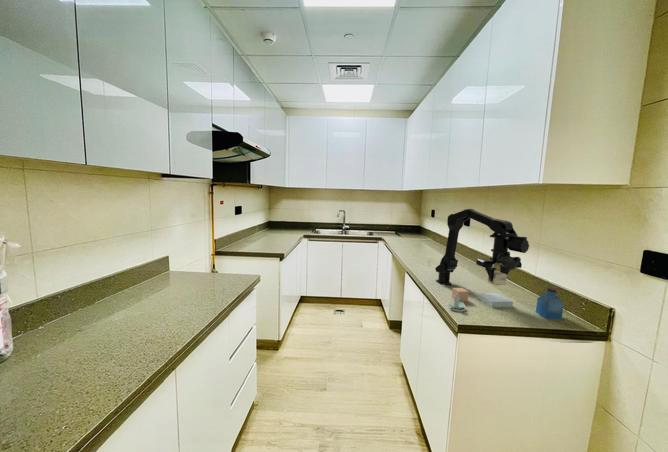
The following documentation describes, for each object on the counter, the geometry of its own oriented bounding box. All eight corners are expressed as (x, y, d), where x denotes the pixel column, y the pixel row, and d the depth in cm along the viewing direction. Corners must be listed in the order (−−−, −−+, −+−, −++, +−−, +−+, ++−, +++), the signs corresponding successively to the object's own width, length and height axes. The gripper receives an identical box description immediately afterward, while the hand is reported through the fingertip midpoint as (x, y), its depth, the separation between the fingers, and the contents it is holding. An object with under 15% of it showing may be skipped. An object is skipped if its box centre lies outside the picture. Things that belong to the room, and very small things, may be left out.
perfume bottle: (550, 313, 115) (554, 286, 114) (561, 319, 109) (565, 291, 108) (535, 312, 116) (539, 285, 115) (545, 318, 110) (549, 290, 108)
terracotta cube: (451, 297, 129) (452, 287, 129) (461, 297, 130) (462, 287, 129) (457, 301, 124) (458, 291, 124) (467, 301, 125) (468, 291, 124)
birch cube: (487, 281, 126) (489, 271, 125) (497, 281, 126) (498, 271, 126) (495, 285, 121) (496, 274, 120) (505, 285, 122) (506, 274, 121)
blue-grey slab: (477, 299, 129) (478, 293, 129) (496, 299, 130) (497, 293, 130) (491, 308, 119) (492, 301, 119) (512, 307, 120) (513, 301, 120)
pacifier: (469, 311, 114) (459, 305, 120) (471, 298, 113) (460, 292, 119) (455, 313, 112) (445, 307, 118) (457, 299, 111) (447, 293, 117)
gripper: (494, 252, 113) (490, 287, 115) (533, 252, 115) (529, 287, 117) (477, 246, 124) (473, 279, 126) (513, 247, 126) (510, 279, 128)
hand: (496, 281), depth 124 cm, fingers closed on birch cube, 5 cm apart
